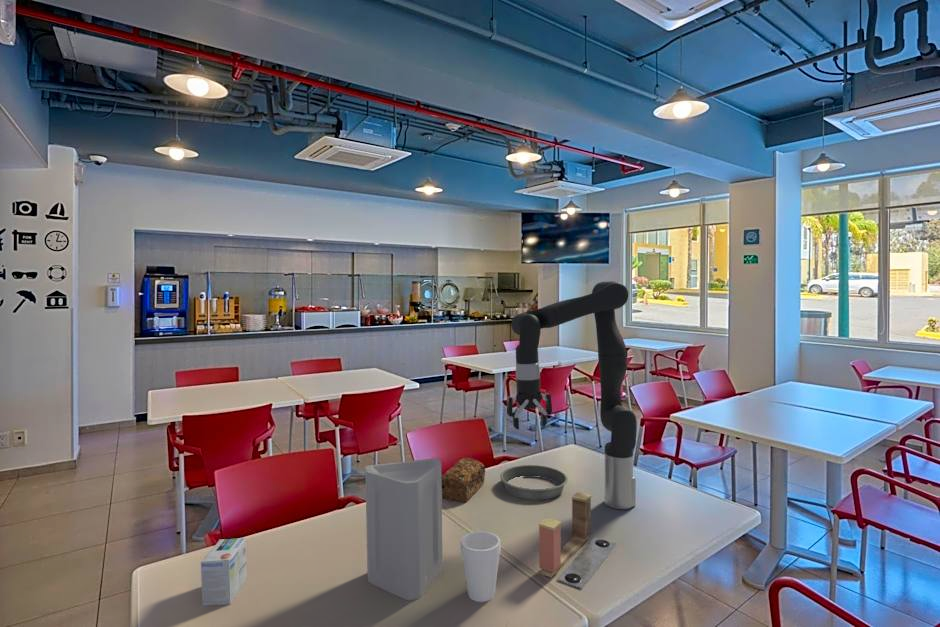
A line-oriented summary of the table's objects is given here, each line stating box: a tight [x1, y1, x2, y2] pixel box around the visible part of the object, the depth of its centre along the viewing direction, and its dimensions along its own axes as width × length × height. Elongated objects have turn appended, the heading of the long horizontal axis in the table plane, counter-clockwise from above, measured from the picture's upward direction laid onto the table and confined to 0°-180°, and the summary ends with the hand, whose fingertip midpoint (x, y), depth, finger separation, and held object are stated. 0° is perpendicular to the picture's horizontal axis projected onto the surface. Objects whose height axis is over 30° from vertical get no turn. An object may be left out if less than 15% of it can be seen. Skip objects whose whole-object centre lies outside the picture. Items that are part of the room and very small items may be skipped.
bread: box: [441, 457, 486, 503], centre depth 177 cm, size 19×11×10 cm, turn 157°
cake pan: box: [499, 464, 569, 501], centre depth 180 cm, size 25×25×4 cm
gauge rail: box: [540, 491, 592, 579], centre depth 134 cm, size 25×4×13 cm, turn 145°
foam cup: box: [460, 530, 502, 603], centre depth 117 cm, size 10×9×13 cm
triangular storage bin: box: [364, 457, 444, 601], centre depth 122 cm, size 19×15×28 cm
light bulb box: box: [200, 537, 248, 607], centre depth 119 cm, size 11×7×11 cm, turn 5°
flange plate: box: [556, 537, 617, 589], centre depth 131 cm, size 25×6×1 cm, turn 145°
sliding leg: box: [538, 517, 562, 573], centre depth 126 cm, size 4×4×12 cm
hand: (530, 427), depth 155 cm, fingers open, 8 cm apart
